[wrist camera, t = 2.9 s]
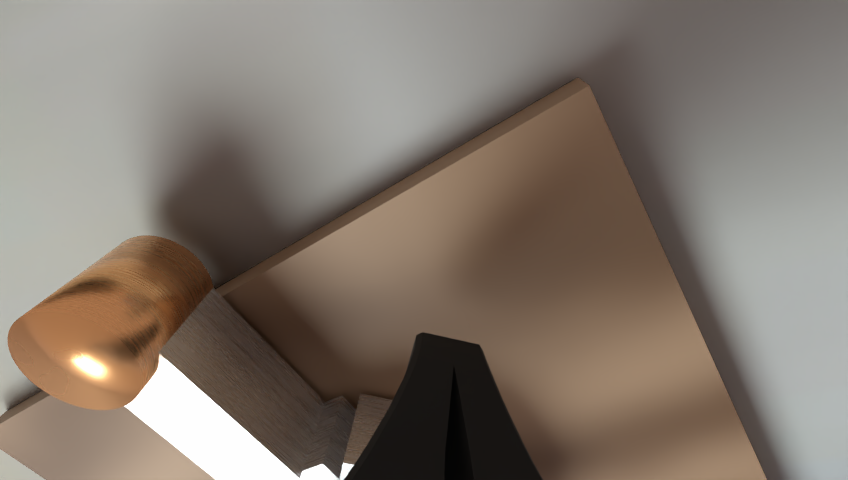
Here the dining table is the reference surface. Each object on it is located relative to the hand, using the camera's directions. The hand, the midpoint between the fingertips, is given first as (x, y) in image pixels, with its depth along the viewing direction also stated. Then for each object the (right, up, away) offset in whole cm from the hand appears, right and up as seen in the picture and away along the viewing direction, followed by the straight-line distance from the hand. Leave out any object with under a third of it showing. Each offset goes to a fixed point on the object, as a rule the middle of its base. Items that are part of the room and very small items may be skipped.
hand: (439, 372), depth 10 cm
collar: (-3, -3, +4) cm, 6 cm away
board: (-2, -5, +7) cm, 9 cm away
